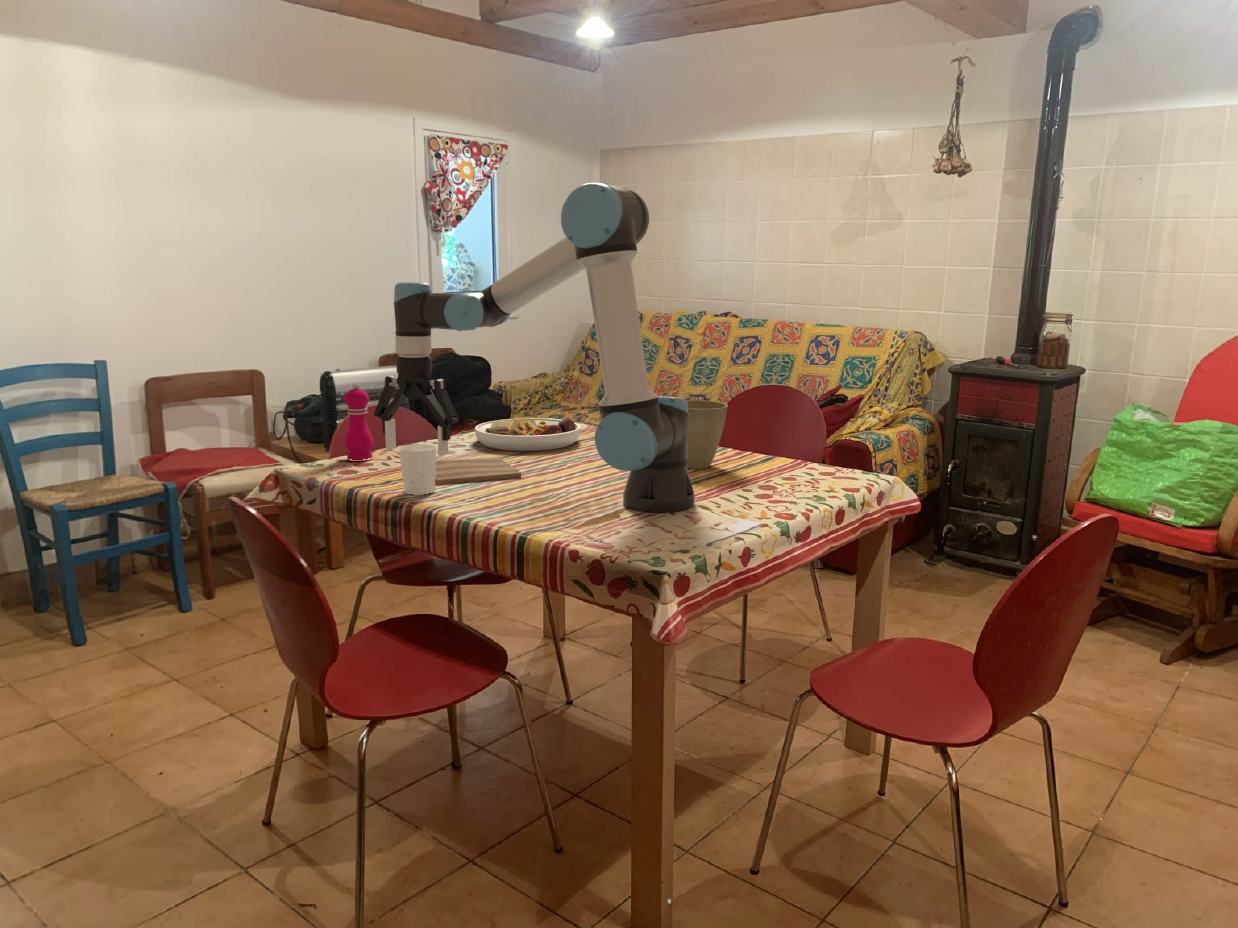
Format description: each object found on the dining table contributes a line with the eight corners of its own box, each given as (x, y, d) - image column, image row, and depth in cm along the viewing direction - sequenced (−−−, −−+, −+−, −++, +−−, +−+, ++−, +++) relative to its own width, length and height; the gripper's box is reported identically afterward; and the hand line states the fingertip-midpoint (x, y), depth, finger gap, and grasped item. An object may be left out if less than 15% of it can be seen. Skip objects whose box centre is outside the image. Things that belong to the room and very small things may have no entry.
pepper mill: (367, 462, 227) (362, 384, 223) (340, 461, 228) (335, 384, 224) (379, 457, 234) (375, 381, 230) (353, 456, 235) (348, 380, 231)
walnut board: (521, 477, 212) (521, 472, 212) (437, 484, 204) (437, 479, 204) (498, 461, 230) (498, 456, 230) (420, 467, 222) (420, 462, 222)
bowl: (456, 450, 246) (455, 422, 244) (502, 432, 274) (501, 406, 272) (558, 457, 237) (558, 428, 236) (594, 437, 265) (594, 411, 264)
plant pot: (669, 472, 218) (670, 408, 215) (664, 460, 233) (665, 399, 229) (730, 472, 219) (732, 408, 215) (721, 460, 233) (723, 400, 230)
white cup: (429, 497, 193) (427, 452, 191) (395, 495, 195) (393, 450, 193) (443, 488, 201) (441, 445, 199) (410, 486, 202) (408, 443, 200)
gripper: (473, 357, 190) (474, 454, 195) (376, 350, 199) (380, 443, 204) (454, 360, 184) (456, 460, 188) (355, 353, 193) (359, 449, 197)
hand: (416, 452), depth 196 cm, fingers open, 13 cm apart
